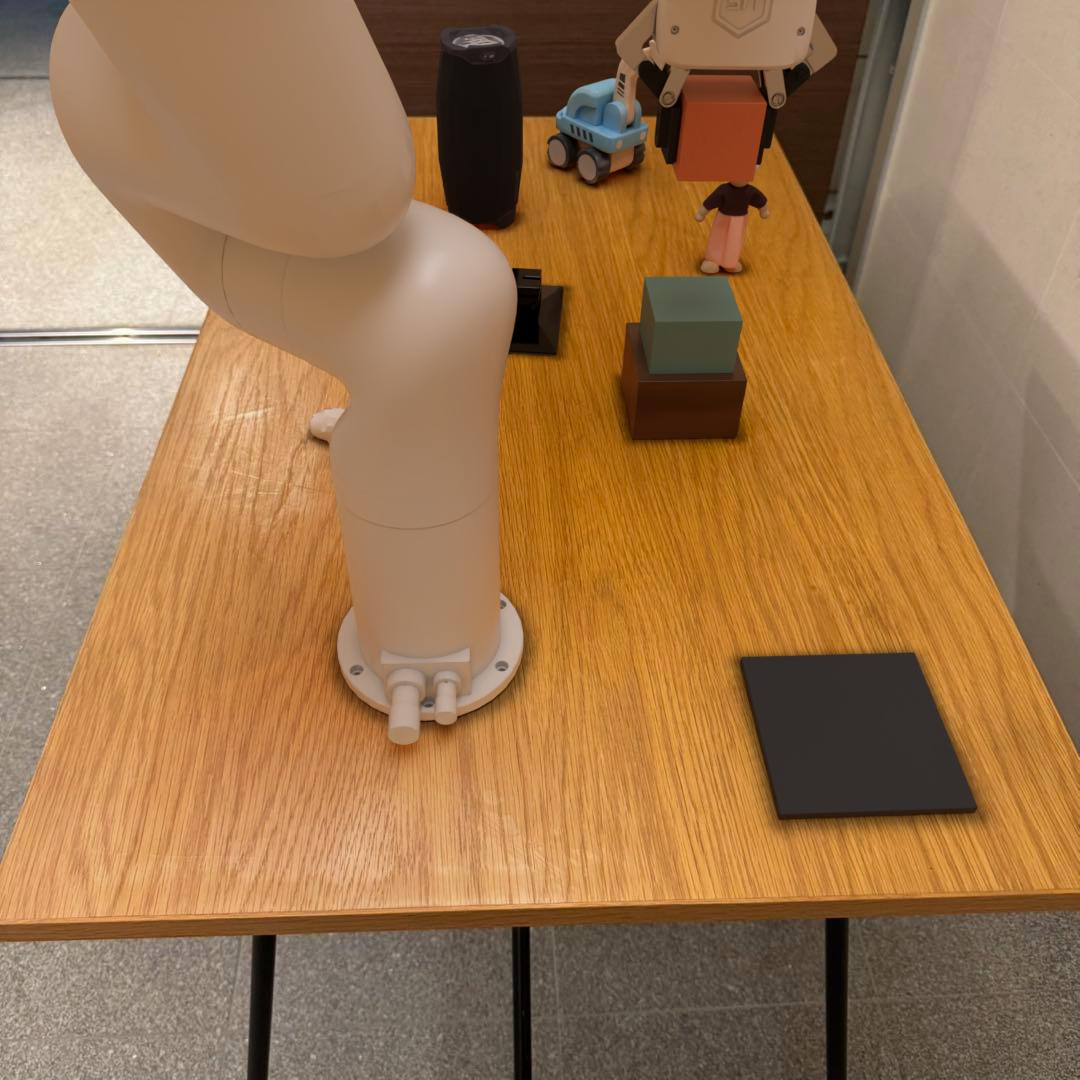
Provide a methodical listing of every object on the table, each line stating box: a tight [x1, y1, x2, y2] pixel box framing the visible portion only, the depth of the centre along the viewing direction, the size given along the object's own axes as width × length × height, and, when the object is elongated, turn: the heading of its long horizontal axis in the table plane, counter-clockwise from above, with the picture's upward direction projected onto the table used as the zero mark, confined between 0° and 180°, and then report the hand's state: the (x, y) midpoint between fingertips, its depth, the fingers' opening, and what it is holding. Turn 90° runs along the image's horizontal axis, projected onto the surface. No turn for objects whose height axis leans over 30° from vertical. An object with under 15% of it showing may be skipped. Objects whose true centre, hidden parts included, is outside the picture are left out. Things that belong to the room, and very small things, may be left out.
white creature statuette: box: [309, 397, 350, 444], centre depth 82 cm, size 10×9×12 cm
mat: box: [739, 651, 979, 820], centre depth 64 cm, size 12×12×1 cm
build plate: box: [508, 267, 565, 357], centre depth 97 cm, size 12×7×5 cm, turn 176°
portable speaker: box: [435, 23, 524, 229], centre depth 108 cm, size 9×9×20 cm
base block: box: [620, 321, 748, 440], centre depth 87 cm, size 9×9×6 cm
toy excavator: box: [546, 39, 664, 185], centre depth 117 cm, size 9×17×17 cm, turn 43°
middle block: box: [639, 275, 744, 374], centre depth 83 cm, size 7×7×5 cm
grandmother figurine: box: [694, 165, 771, 274], centre depth 103 cm, size 8×4×13 cm, turn 106°
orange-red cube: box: [671, 74, 767, 183], centre depth 71 cm, size 6×6×6 cm
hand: (710, 154), depth 73 cm, fingers closed on orange-red cube, 5 cm apart
